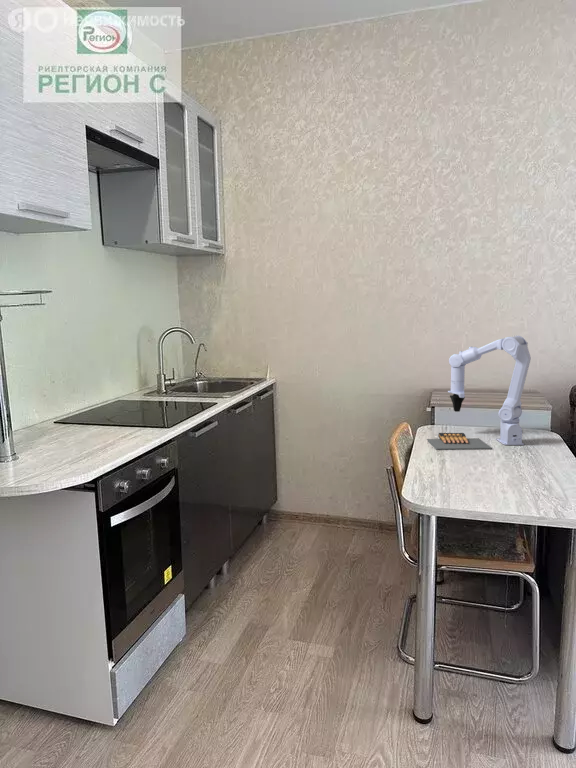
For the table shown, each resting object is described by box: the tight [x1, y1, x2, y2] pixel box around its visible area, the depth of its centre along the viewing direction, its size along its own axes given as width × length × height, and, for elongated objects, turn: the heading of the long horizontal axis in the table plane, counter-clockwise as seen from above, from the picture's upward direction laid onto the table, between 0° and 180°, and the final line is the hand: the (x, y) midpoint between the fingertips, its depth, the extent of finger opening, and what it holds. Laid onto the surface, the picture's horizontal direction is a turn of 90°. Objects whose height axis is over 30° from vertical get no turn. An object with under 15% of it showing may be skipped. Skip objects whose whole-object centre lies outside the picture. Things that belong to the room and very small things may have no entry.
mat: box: [426, 437, 493, 451], centre depth 221 cm, size 16×22×1 cm
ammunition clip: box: [438, 432, 468, 443], centre depth 225 cm, size 11×2×12 cm
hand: (456, 411), depth 239 cm, fingers closed
